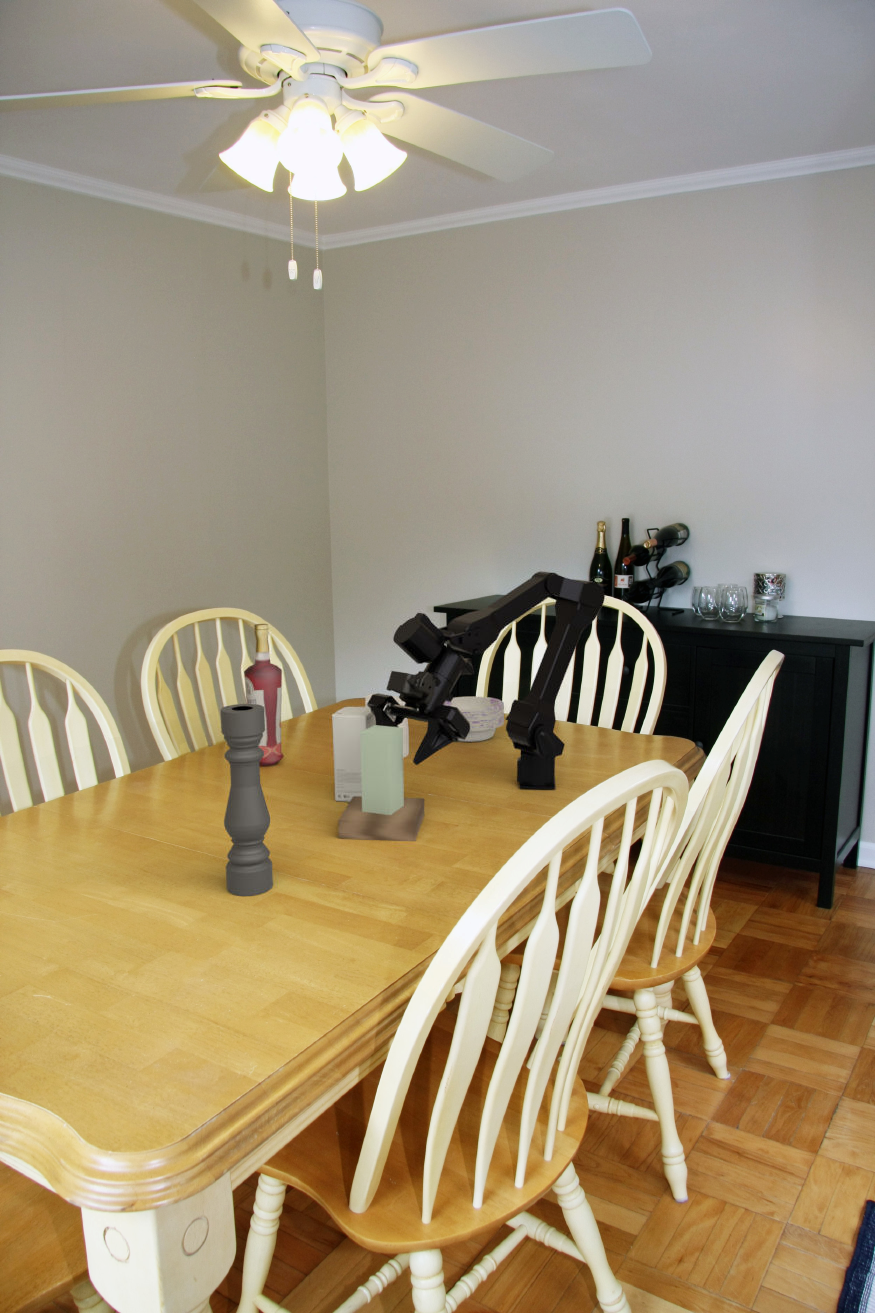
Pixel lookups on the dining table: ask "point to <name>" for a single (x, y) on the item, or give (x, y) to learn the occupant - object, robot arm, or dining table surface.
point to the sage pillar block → (382, 769)
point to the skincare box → (349, 749)
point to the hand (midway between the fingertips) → (393, 758)
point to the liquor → (266, 696)
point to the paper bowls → (480, 716)
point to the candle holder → (246, 802)
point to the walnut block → (382, 822)
